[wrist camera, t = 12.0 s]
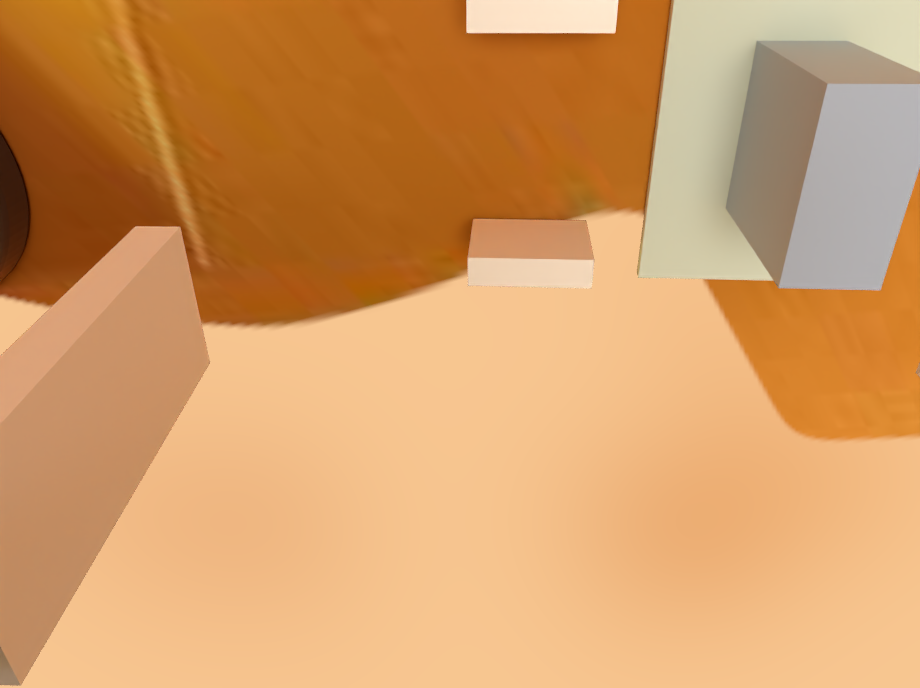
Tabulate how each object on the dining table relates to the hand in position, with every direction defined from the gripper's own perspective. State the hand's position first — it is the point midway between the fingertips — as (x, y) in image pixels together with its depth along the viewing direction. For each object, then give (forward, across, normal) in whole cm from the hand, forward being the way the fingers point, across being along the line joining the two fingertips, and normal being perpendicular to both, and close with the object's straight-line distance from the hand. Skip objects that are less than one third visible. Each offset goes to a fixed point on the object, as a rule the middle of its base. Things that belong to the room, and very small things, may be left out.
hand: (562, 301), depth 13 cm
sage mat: (+25, +13, -4) cm, 29 cm away
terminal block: (+25, +13, -4) cm, 28 cm away
